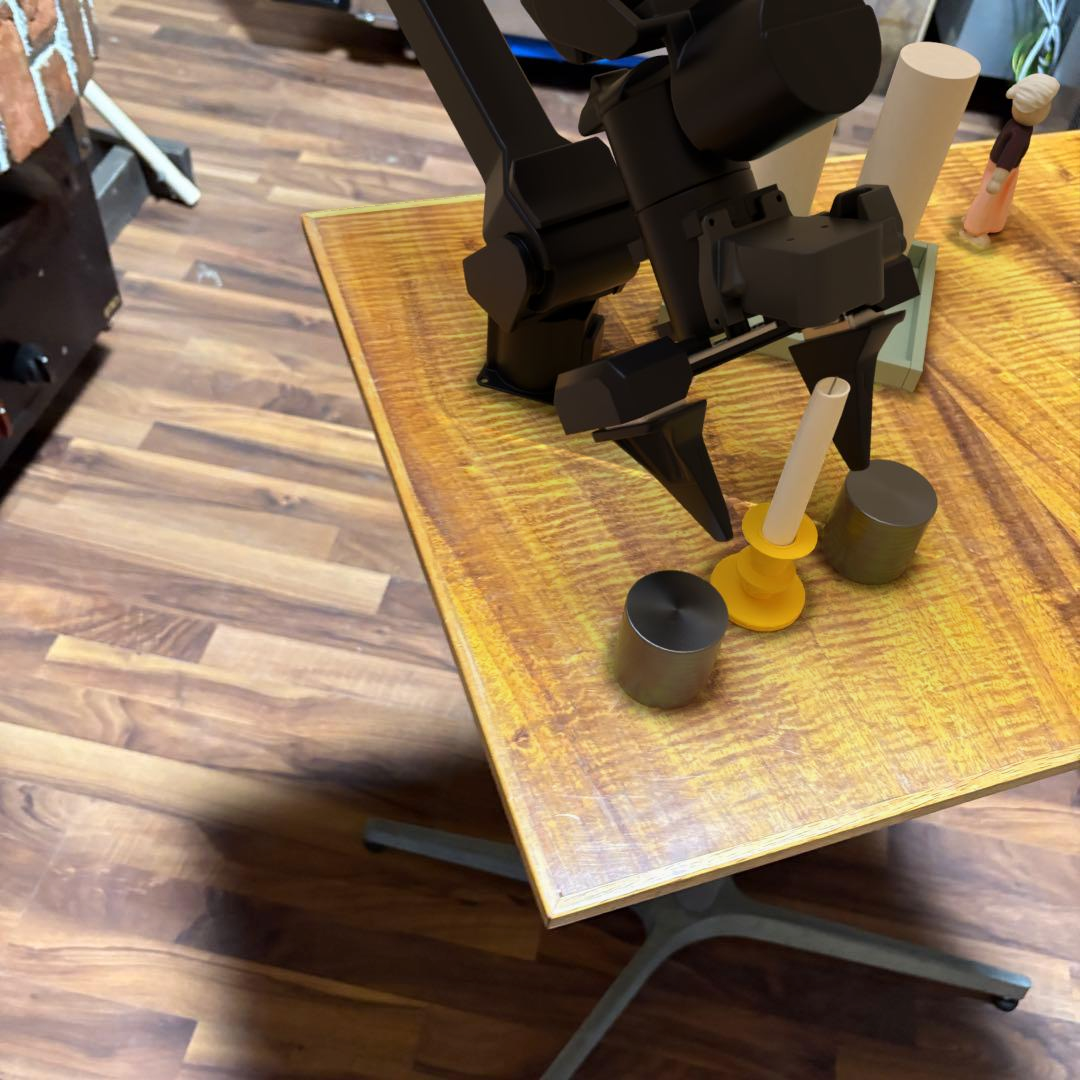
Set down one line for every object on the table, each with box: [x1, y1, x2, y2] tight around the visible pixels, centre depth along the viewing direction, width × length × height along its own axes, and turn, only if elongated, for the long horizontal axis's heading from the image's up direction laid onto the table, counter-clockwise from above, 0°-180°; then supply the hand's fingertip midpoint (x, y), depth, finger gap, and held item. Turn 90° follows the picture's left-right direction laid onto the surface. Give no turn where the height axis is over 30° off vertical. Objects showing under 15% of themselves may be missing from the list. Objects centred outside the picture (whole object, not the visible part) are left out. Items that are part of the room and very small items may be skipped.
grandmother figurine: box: [958, 72, 1061, 247], centre depth 77 cm, size 8×4×13 cm, turn 168°
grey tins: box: [612, 458, 939, 710], centre depth 54 cm, size 5×20×5 cm, turn 125°
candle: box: [709, 376, 850, 632], centre depth 50 cm, size 5×5×16 cm
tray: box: [656, 214, 939, 394], centre depth 73 cm, size 18×16×2 cm
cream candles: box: [749, 41, 982, 256], centre depth 70 cm, size 12×5×16 cm, turn 72°
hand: (795, 504), depth 50 cm, fingers open, 9 cm apart
